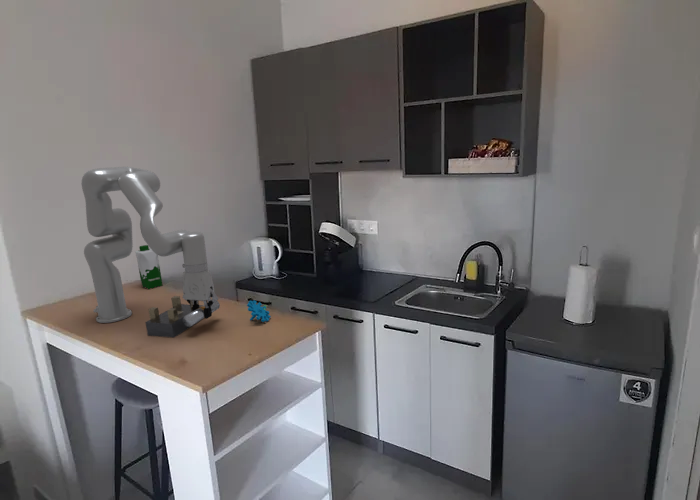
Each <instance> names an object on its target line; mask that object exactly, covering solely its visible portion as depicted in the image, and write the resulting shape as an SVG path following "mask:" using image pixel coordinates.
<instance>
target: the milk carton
mask: <svg viewBox="0 0 700 500" xmlns="http://www.w3.org/2000/svg"><path fill="white" fill-rule="evenodd" d="M138 248H139V250H136V251H134V252H135V256H136V261H137V267H138V271H139V272H138V273H139V278H140V282H141V287H142V286H143V287H142V288H144V287H146V288H148V289H147V290H151V289H150V288H152V289H155V288H154V287H156V288H158V287H157V286H159V287H162V286H164V285H163V280H162V275H161V274H162V271H161V265H160V261H159V255H157V254H156V253H154V252H153V251H152V249H151V248H150V247H149V246H148V244H146V245H139V246H138ZM146 288H145V289H146Z"/></svg>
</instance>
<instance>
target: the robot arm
mask: <svg viewBox="0 0 700 500" xmlns="http://www.w3.org/2000/svg"><path fill="white" fill-rule="evenodd" d="M81 188H82V189H81V190H82V193H83V196H84V200H85V216H86V227H87V232H88V233H89V234H90V236H92V237H95V238H99V239H95V240H92V241H90V242H88V243H87V244H86V245H85V247H84V248H83V255H84V257H85V260H86V262H87V265H88V267H89V270H90V273H91V278H92V283H93V288H94V292H95V298H96V303H97V306H95V308H94V309H93V313H97V314H98V315H97V316H96V317H95V321H96V322H97V323H99V324H103V323H104V324H109V323H110V324H111V323H114V322H115V323H116V322H118V321H122V320H125V319H128V318H130V316H132V314H133V312H132V310H131V309H128V307H127V304H126V298H125V293H124V288H123V283H122V277H121V273H120V270H119V269H118V268H117V266H115V264H114V263H113V262H115V261H119V260H122V259H125V258H127V257H129V256H130V255H131V254H132V252H133V247H134V246H133V245H134V244H133V222H132V218H131V217H130V214H129V213H128V212H127V211H126V210H125V209H122V208H113V202H112V199H111V197H110V195H109V194H108V192H109V193H110V192H116V191H117V192H118V191H121V192H122V194H123V195H124V196H125V198H126V199H127V201H128V202H129V203H130V204H131V205H132V207H133V209H135V211H136V212H137V213H138V215H139V217H140V221H139V228H140V235H141V236H142V238H143V240H144V241H145V243H146V245H148V246H149V249H150V248H151V249H152V251H153V252H154V253H156V254H157V255H158V257H168V256H169V257H170V256H171V255H172V256H173V255H175V254H177V253H182V258H183V263H182V268H184V272H183V273H182V274H183V275H182V293H183V294H182V299H183V300H185V301H186V302H187V303H188V305H190V307H192V311H194V310H196V309H198V308H199V305H200V303H199V304H197V303H198V301H199V302H200V301H201V302H203V305H205V308H204V314H205V318H204V319H205V320H206V319H207V320H208V319H209V318H210V317H212V314H213V313H212V311H211V306H212V304H213V303H214V302H215V301H218V300H219V297H218V296H217V294H216V292H215V288H214V287H215V286H214V282H213V281H214V280H213V277H212V273H211V271H210V270H209V265H208V259H207V258H208V257H207V250H206V243H205V242H206V241H205V235H204V234H203V232H201V231H189V230H186V229H176V230H174V231H173V230H172V231H169V232H166V233H162V232H161V231H160V230H159V229H158V227H157V225H156V224H155V219H154V218H155V217H156V216H157V215H159V213H160V212H161V211H162V209H163V207H164V206H163V202H162V201H161V199H159V197H158V195H157V194H156V193H157V192H159V190H160V188H161V181H160V178H159V176H158V175H157V174H156V173H155V172H153V171H151V170H148V169H144V168H137V167H132V166H116V167H100V168H95V169H90V170H87V171H86V172H85V173H84V174H83V176H82V177H81ZM106 236H107V237H106Z"/></svg>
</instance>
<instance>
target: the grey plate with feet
mask: <svg viewBox="0 0 700 500" xmlns="http://www.w3.org/2000/svg"><path fill="white" fill-rule="evenodd" d="M170 299H171V306H172V307H171V308H169V309H167V310H166V311H164V312H162V313H160V311H159V307H154V306H152V307H149V308H148V314H149V320H147V321H145V327H146V333H147V336H148V337H149V336H151V337H164V338H176V337H177V336H179V335H181V334H182V333H184V332H185V331H186V330H188V329H189V328H191V327H193V326H194V325H196V324H197V323H199V322H201V321H202V320H204V319H205V318H203V319H202V320H200V321H198V322H197V323H195V324H194V325H192V326H190V327H188V326H186V325H185V324H184V322H183V318H184V316H186V315H188V314H189V313H191V312H193V311H192V307H190V304H185V303H182V302H181V296H180V295H179V296H177V295H174V296H172V297H171V298H170ZM197 304H199V307H201V306H203V305H204V304H203V305H202V304H200V301H198V303H197Z"/></svg>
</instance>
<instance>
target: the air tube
mask: <svg viewBox="0 0 700 500" xmlns="http://www.w3.org/2000/svg"><path fill="white" fill-rule="evenodd" d="M220 304H221V303H220V302H219V301H218V300H217V301H215V302H214V303H213V304H212V306H211V311H212V314H213V313H214V312H216V311H217V310H219V309H220V308H221V307H220V306H221V305H220ZM204 308H205V305H204V304H203V306H201V307H199V308H198V309H196V310H194V311H193V312H191V313H189V314H188V315H186V316H184V318H183V322H184V324H185V325H186V326H188V327H190V326H191V327H193V326H195V325H196V324H197V322H198V321H199V322H201V321H202V320H204V319H205V314H204ZM203 318H204V319H203ZM200 320H201V321H200ZM199 322H198V323H199ZM195 323H196V324H195ZM192 325H193V326H192ZM191 327H190V328H191Z"/></svg>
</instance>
